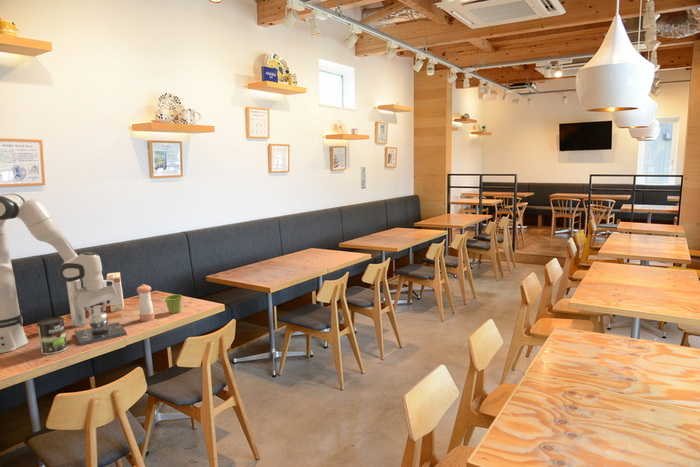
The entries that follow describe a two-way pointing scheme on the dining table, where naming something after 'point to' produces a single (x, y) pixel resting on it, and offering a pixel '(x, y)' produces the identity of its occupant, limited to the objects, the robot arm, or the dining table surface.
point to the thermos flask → (76, 314)
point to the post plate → (99, 333)
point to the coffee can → (52, 335)
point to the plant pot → (173, 303)
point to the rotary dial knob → (100, 317)
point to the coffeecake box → (118, 302)
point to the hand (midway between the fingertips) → (97, 312)
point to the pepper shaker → (145, 303)
